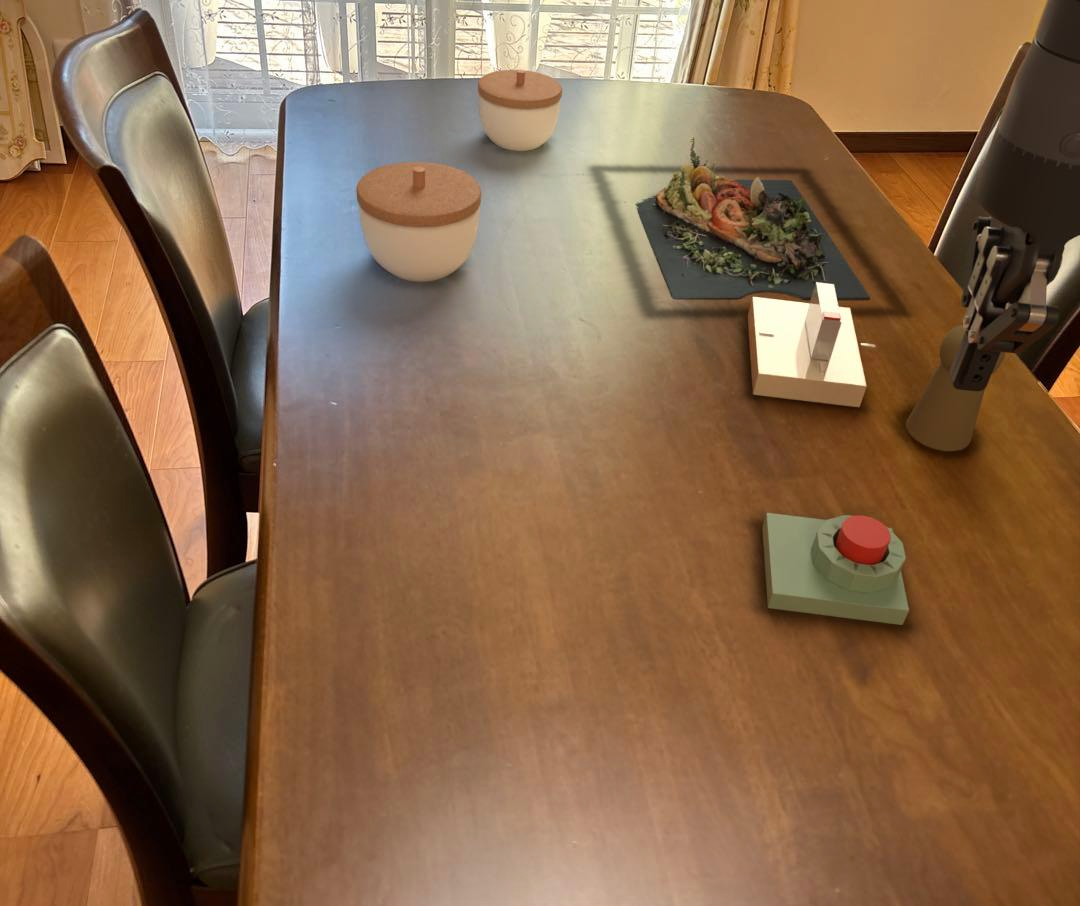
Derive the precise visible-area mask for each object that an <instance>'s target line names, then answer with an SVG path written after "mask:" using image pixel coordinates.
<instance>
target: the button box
mask: <svg viewBox="0 0 1080 906" xmlns="http://www.w3.org/2000/svg"><path fill="white" fill-rule="evenodd" d="M852 516H853V515H850V514H849V515H847V514H844V515H840V516H836V517H832V518H829V519H822V518H813V517H806V516H798V515H791V514H790V515H789V514H781V513H775V512H774V513H773V512H766V513H765V517H764V520H763V524H762V527H761V529H762V544H763V557H764V558H763V559H764V572H765V588H766V589H765V590H766V602H767V608H768V609H774V610H781V611H788V612H789V611H790V612H798V613H805V614H813V615H820V616H828V617H836V618H844V619H851V620H859V621H867V622H868V621H869V622H875V623H883V624H891V625H899V626H903V625H904V623H905V620H906V619H907V616H908V614H909V613H910V607H909V603H908V598H907V594H906V588H905V584H904V579H903V574H902V570H903V567H904V564H905V563H906V560H907V556H906V552H905V547H904V543H903V541H902V540H901V539H900V538H899V537H898V536H897V535H896V534H895V533H894V530H893V528H892V527H888V526H886V527H887V528H888V530H889V532H890V535H891V540H890V542H889V545H888V547H887V550H886V552H885V554H884V557H883V558H882V560H881V561H879V562H878V563H876V564H872V565H866V564H858V563H855V562H853V561H851V560H849V559H847V558H845V557H843V556H842V555H841V554H840V552H839V551H838V549H837V547H836V540H837V537H838V535H839V532H840V529H841V527H842V524H843V522H844V521H845V520H846V519H847V518H849V517H852Z"/></svg>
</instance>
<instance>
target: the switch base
mask: <svg viewBox="0 0 1080 906" xmlns="http://www.w3.org/2000/svg"><path fill="white" fill-rule="evenodd" d="M809 304H810V302H801V301H794V300H793V301H792V300H784V299H775V298H768V297H758V296H751V300H750V305H749V310H748V314H747V328H748V342H749V355H750V356H749V357H750V370H751V372H750V373H751V385H752V395H753V396H761V397H762V396H763V397H770V398H777V399H787V400H794V401H795V400H796V401H805V402H812V403H821V404H828V405H829V404H830V405H837V406H846V407H852V408H860V407H861V406H862V405H861V403H862V401H863V399H864V395H865V394H866V393H865V392H866V390H867V386H868V385H867V380H866V376H865V371H864V367H863V363H862V358H861V357H862V356H861V351H860V348H859V345H860V347H863V348H873V349H875V348H876V344H874V343H873V344H872V343H864V342H861V343H860V344H859V343H858V339H857V334H856V328H855V323H854V320H853V314H852V310H851V309H852V308H851V307H844V306H839V311H840V316H841V321H842V323H841V326H840V330H839V333H838V336H837V339H836V342H835V346H834V349H833V352H832V355H831V359H830V360H821V359H812V358H811V354H810V348H809V341H808V335H807V328H806V321H805V319H806V315H807V311H808V308H809Z"/></svg>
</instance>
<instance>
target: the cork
mask: <svg viewBox="0 0 1080 906" xmlns="http://www.w3.org/2000/svg"><path fill="white" fill-rule="evenodd" d="M965 331H968V330H967V329H964V324H960V325H959V324H958V325H956V326H955V327H953V328H951V329H950V330H949V331H948V332H947V333H946V334H945V336H944V337H943V339H942V340H941V342H940V346H939V360H940V362H939V365H937V367H936V369H935V371H934V373H933V375H932V376H931V378H930V380H929V381H928V383H927V385H926V386H925V388H924V390H923V392H922V394H921V395H920V397H919V399H918V400H917V402H916V404H915V406H913V409H912V410H911V412H910V414H909V416H908V417H907V419H906V421H905V428H906V431H907V432H908V434H909V435H910V436H911V437H912V438H913V439H914V440H915V441H916V442H918V443H920V444H921V445H923V446H925V447H928V448H930V449H933V450H937V451H942V452H956V451H962V450H964V449H965V448H967V447H969V445H970V443H971V442H972V438H973V434H974V430H975V427H976V423H977V420H978V416H979V413H980V410H981V405H982V403H983V398H984V394H985V391H986V388H985V389H984V390H982V391H968V390H958V389H955V388H954V386H953V383H952V380H951V377H950V369H951V367H952V364H953V361H954V359H955V356H956V354H957V351H958V349H959V346H960V343H961V341H962V338H963V336H964V333H965ZM1005 354H1006V352H1001V353H1000V356H999V358H998V360H997V363H996V365H995V367H994V370H993V372H992V374H993V375H994V373H996V372H997V370H998V369H999V368H1000V367H1001V366H1002V363H1003V361H1004V359H1005ZM992 374H991V375H992Z"/></svg>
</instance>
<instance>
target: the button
mask: <svg viewBox="0 0 1080 906" xmlns="http://www.w3.org/2000/svg"><path fill="white" fill-rule="evenodd" d="M851 516H852V517H849V518H847V519H846V520H845V521H844V522H843V524H842V527H841V529H840V532H839V535H838V537H837V540H836V547H837V549H838V551H839V552H840V554H841V555H842V556H843V557H845V558H847V559H849V560H851V561H853V562H855V563H858V564H866V565H872V564H876V563H878V562H879V561H881V560H882V558H883V557H884V554H885V552H886V550H887V547H888V545H889V542H890V540H891V535H890V532H889V530H888V528H889V527H888V526H886V525H885V524H884V523H883V522H881V521H880V520H878V519H876V518H874V517H871V516H867V515H851ZM887 527H888V528H887Z"/></svg>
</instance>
